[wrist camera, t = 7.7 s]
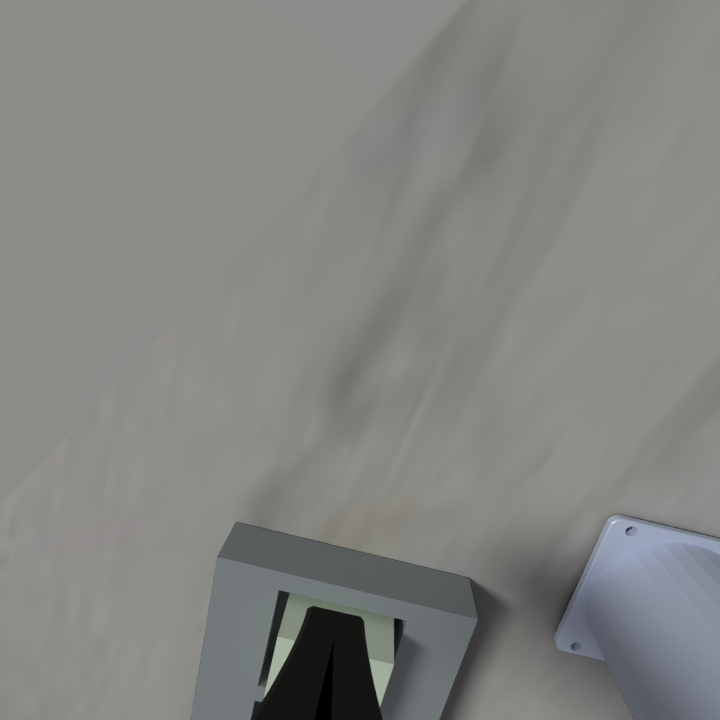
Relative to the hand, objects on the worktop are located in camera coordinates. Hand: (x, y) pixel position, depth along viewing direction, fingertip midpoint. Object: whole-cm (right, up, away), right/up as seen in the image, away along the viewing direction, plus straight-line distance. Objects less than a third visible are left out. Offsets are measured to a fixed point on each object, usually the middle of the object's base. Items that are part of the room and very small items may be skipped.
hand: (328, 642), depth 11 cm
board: (-2, -13, +15) cm, 20 cm away
